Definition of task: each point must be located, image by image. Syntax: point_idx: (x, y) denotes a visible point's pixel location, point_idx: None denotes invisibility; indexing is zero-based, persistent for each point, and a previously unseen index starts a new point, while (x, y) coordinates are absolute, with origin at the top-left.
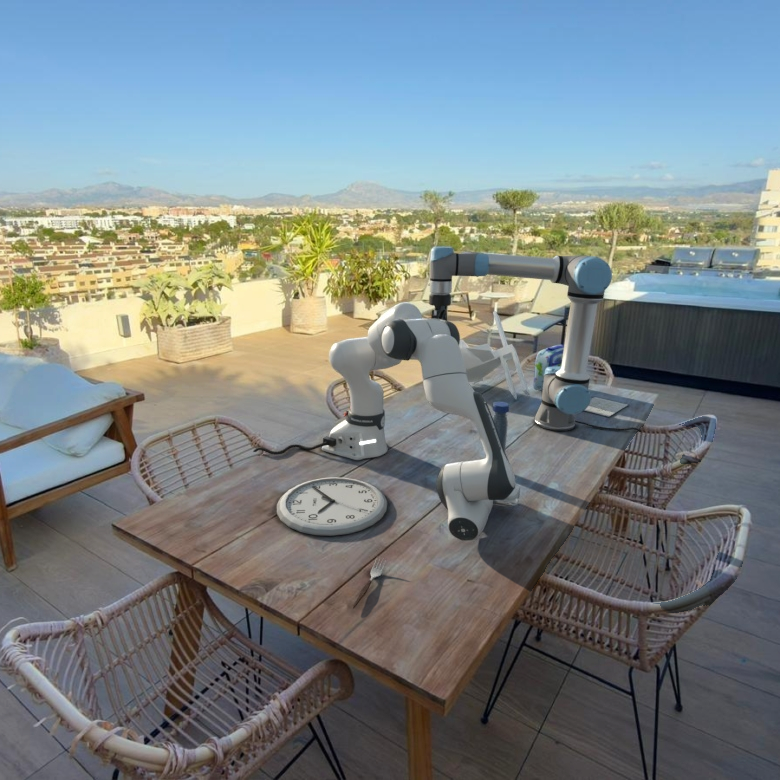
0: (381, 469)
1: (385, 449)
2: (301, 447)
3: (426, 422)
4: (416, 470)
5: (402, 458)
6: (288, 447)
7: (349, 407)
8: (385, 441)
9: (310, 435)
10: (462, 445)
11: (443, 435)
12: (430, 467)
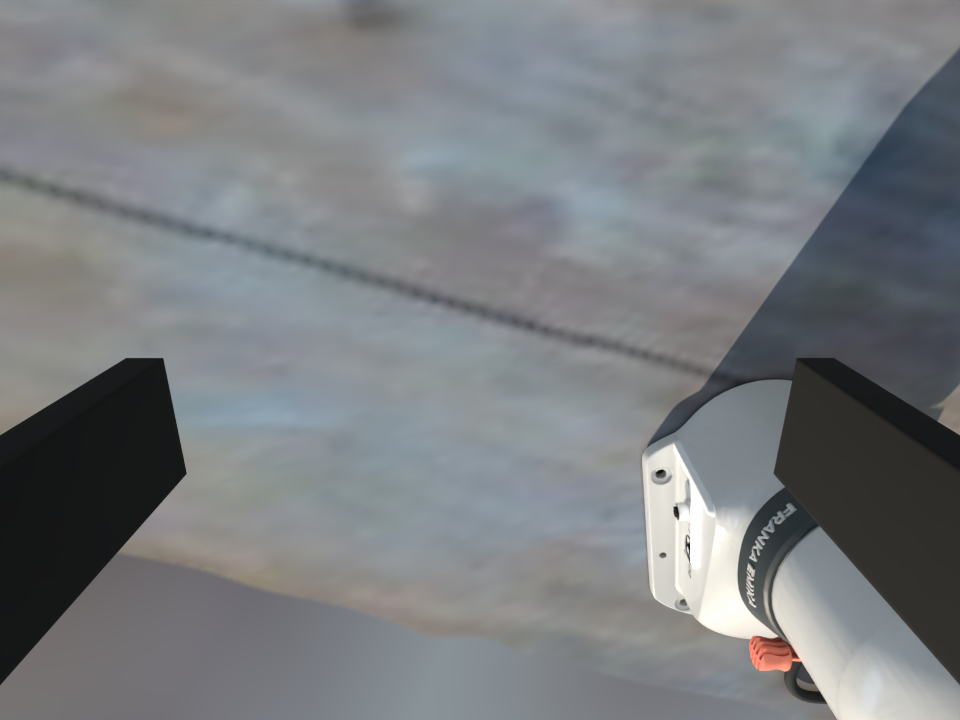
0: (949, 348)
1: (786, 387)
2: (799, 664)
3: (343, 301)
4: (949, 202)
5: (826, 296)
6: (819, 697)
7: (787, 669)
8: (772, 407)
9: (663, 678)
10: (603, 33)
11: (493, 171)
12: (911, 145)
